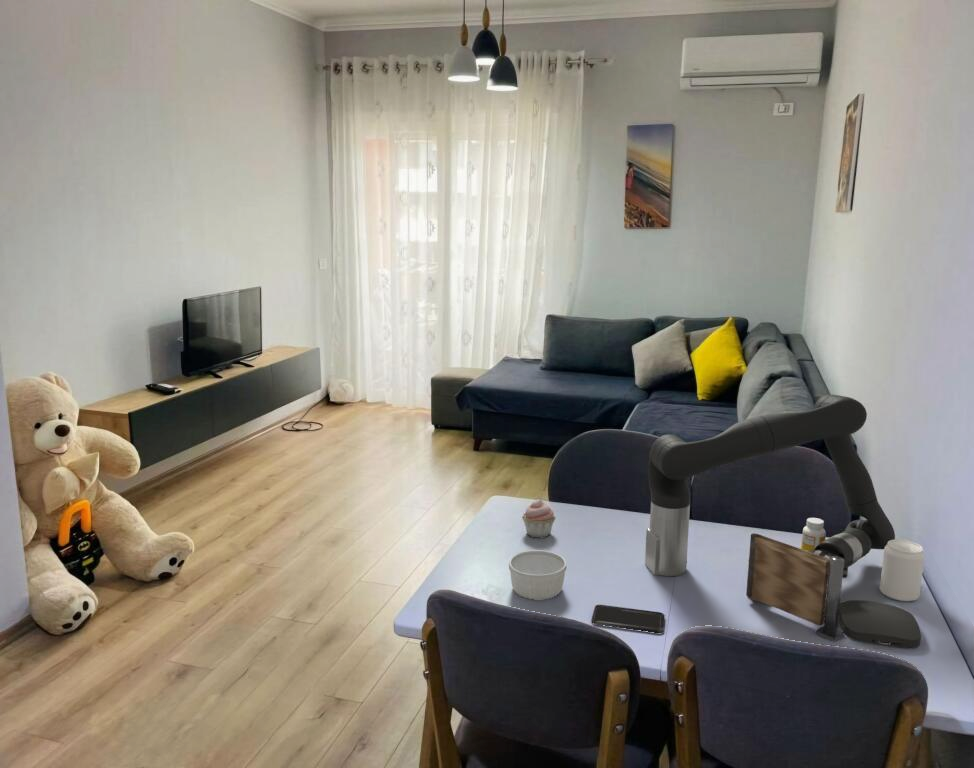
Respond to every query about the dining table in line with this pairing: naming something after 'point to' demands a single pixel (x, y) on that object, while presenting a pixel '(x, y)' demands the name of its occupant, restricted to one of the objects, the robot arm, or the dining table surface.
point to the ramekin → (537, 574)
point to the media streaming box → (879, 624)
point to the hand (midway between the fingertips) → (800, 574)
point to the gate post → (832, 601)
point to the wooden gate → (788, 578)
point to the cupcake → (538, 519)
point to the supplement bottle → (813, 534)
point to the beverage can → (902, 570)
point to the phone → (628, 618)
